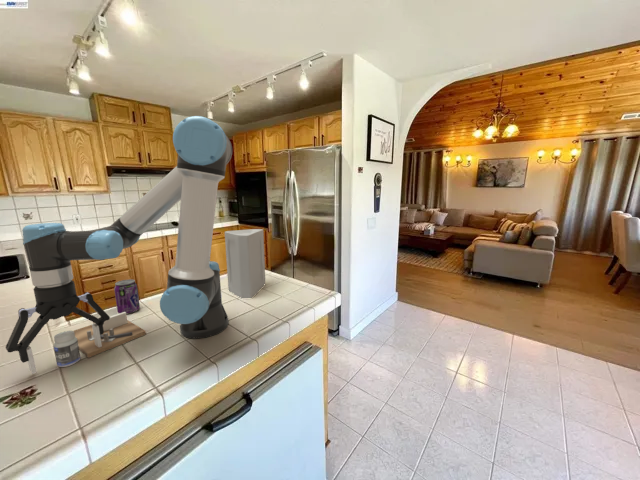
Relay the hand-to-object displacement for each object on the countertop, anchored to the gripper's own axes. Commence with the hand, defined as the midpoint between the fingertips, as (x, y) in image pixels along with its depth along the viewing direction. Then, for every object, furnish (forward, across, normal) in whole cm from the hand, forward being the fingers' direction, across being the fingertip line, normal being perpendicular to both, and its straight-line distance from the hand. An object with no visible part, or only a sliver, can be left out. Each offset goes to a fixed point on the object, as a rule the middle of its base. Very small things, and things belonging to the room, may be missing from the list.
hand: (68, 357), depth 72 cm
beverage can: (+2, -23, -22) cm, 32 cm away
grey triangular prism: (+2, -63, -2) cm, 63 cm away
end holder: (0, -14, -13) cm, 19 cm away
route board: (+1, -11, -8) cm, 14 cm away
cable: (0, -11, -5) cm, 12 cm away
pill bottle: (+2, 0, 0) cm, 2 cm away
